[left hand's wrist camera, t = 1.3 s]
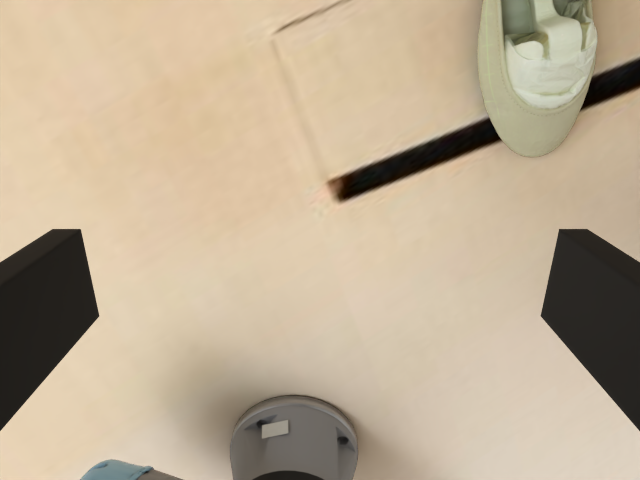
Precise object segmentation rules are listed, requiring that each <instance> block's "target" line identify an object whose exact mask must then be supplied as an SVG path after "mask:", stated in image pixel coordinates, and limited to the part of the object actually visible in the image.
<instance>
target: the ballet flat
mask: <svg viewBox="0 0 640 480" xmlns="http://www.w3.org/2000/svg"><path fill="white" fill-rule="evenodd" d="M596 47H597V30H596V28H595V26H594V22H593V13H592V0H483V4H482V11H481V21H480V29H479V34H478V53H477V56H478V74H479V81H480V87H481V91H482V96H483V100H484V104H485V108H486V110H487V113H488V115H489V117H490V120H491V122H492V124H493V126H494V127H495V129H496V131H497V133H498V135H499V136H500V138H501V139H502V141H503V142H504V143H505V144H506V145H507V146H508V147H509V148H510V149H511V150H512V151H514V152H515V153H517V154H519V155H522V156H526V157H538V156H542V155H545V154H547V153H549V152H551V151H553V150H554V149H555V148H557V147H558V146H559V145H560V144H561V143H562V142H563V140H564V139H565V138H566V136H567V135H568V133H569V131H570V130H571V128H572V126H573V125H574V123H575V121H576V118H577V116H578V113H579V111H580V109H581V107H582V105H583V102H584V99H585V96H586V94H587V91H588V88H589V84H590V80H591V78H592V75H593V72H594V67H595V61H596Z"/></svg>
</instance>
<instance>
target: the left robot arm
mask: <svg viewBox="0 0 640 480" xmlns="http://www.w3.org/2000/svg"><path fill="white" fill-rule="evenodd" d="M98 317H99V313H98V308H97V303H96V299H95V294H94V289H93V285H92V280H91V275H90V271H89V266H88V261H87V257H86V252H85V247H84V243H83V238H82V233H81V229H52V230H51V231H49V232H48V233H46V234H44V235H43V236H41V237H40V238H38V239H36V240H35V241H33V242H32V243H30V244H29V245H27V246H25V247H24V248H22V249H21V250H19V251H18V252H16V253H14V254H13V255H11V256H10V257H8V258H7V259H5V260H3V261H2V262H0V431H1V430H2V428H3V427H4V426H5V425H6V424H7V423H8V421H9V420H10V419H11V418H12V417H13V416H14V414H15V413H16V412H17V411H18V410H19V409H20V407H21V406H22V405H23V404H24V403H25V402H26V400H27V399H28V398H29V397H30V396H31V395H32V394H33V392H34V391H35V390H36V389H37V388H38V387H39V385H40V384H41V383H42V382H43V381H44V380H45V378H46V377H47V376H48V375H49V374H50V373H51V371H52V370H53V369H54V368H55V367H56V366H57V364H58V363H59V362H60V361H61V360H62V359H63V358H64V356H65V355H66V354H67V353H68V352H69V351H70V349H71V348H72V347H73V346H74V345H75V344H76V342H77V341H78V340H79V339H80V338H81V337H82V335H83V334H84V333H85V332H86V331H87V330H88V329H89V327H90V326H91V325H92V324H93V323H94V322H95V320H96V319H97V318H98ZM541 317H542V318H543V319H544V320H545V322H546V323H547V324H548V325H549V326H550V327H551V329H552V330H553V331H554V332H555V333H556V334H557V335H558V337H559V338H560V339H561V340H562V341H563V342H564V344H565V345H566V346H567V347H568V348H569V349H570V351H571V352H572V353H573V354H574V355H575V356H576V358H577V359H578V360H579V361H580V362H581V363H582V364H583V366H584V367H585V368H586V369H587V370H588V371H589V373H590V374H591V375H592V376H593V377H594V378H595V380H596V381H597V382H598V383H599V384H600V385H601V387H602V388H603V389H604V390H605V391H606V392H607V394H608V395H609V396H610V397H611V398H612V399H613V400H614V402H615V403H616V404H617V405H618V406H619V407H620V409H621V410H622V411H623V412H624V413H625V414H626V416H627V417H628V418H629V419H630V420H631V421H632V423H633V424H634V425H635V426H636V427H637V428H638V430H639V431H640V262H638V261H637V260H635V259H633V258H632V257H630V256H629V255H627V254H626V253H624V252H622V251H621V250H619V249H618V248H616V247H615V246H613V245H611V244H610V243H608V242H607V241H605V240H604V239H602V238H600V237H599V236H597V235H596V234H594V233H592V232H591V231H589V230H588V229H559V233H558V238H557V243H556V247H555V252H554V257H553V261H552V266H551V271H550V275H549V280H548V285H547V289H546V294H545V299H544V303H543V308H542V313H541ZM230 459H231V467H232V473H233V480H352V479H353V476H354V472H355V469H356V465H357V459H358V446H357V437H356V433H355V430H354V428H353V426H352V424H351V422H350V421H349V420H348V419H347V417H346V416H345V415H344V414H343V413H342V412H340V411H339V410H338V409H336V408H335V407H333V406H332V405H330V404H328V403H325V402H323V401H321V400H318V399H314V398H310V397H304V396H282V397H276V398H272V399H268V400H265V401H263V402H260V403H259V404H257V405H255V406H253V407H252V408H250V409H249V410H248V411H247V412H245V413H244V414H243V415H242V417H241V418H240V419H239V421H238V422H237V424H236V426H235V429H234V432H233V436H232V440H231V445H230ZM80 480H183V479H180V478H177V477H174V476H171V475H168V474H165V473H162V472H159V471H156V470H154V469H153V467H151V466H146V467H142V466H138V465H134V464H130V463H126V462H122V461H119V460H106V461H103V462H100V463H98V464H97V465H95V466H94V467H92V468H91V469H90V470H89V471H88V472H87V473H86V474H85V475H84V476H83V477H82V478H81V479H80Z"/></svg>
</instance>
